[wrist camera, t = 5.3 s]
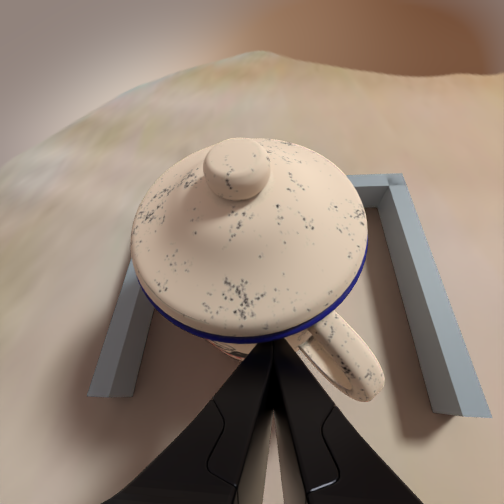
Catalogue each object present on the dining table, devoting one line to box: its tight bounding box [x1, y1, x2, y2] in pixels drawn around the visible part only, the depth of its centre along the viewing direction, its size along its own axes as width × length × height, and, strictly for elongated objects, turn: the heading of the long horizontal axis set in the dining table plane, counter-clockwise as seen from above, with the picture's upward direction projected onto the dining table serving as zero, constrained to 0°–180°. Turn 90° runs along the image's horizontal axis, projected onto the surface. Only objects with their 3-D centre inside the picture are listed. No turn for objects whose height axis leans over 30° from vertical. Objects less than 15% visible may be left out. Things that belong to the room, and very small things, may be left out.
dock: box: [87, 173, 492, 418], centre depth 16 cm, size 15×19×2 cm
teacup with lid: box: [131, 138, 385, 402], centre depth 11 cm, size 12×9×12 cm
